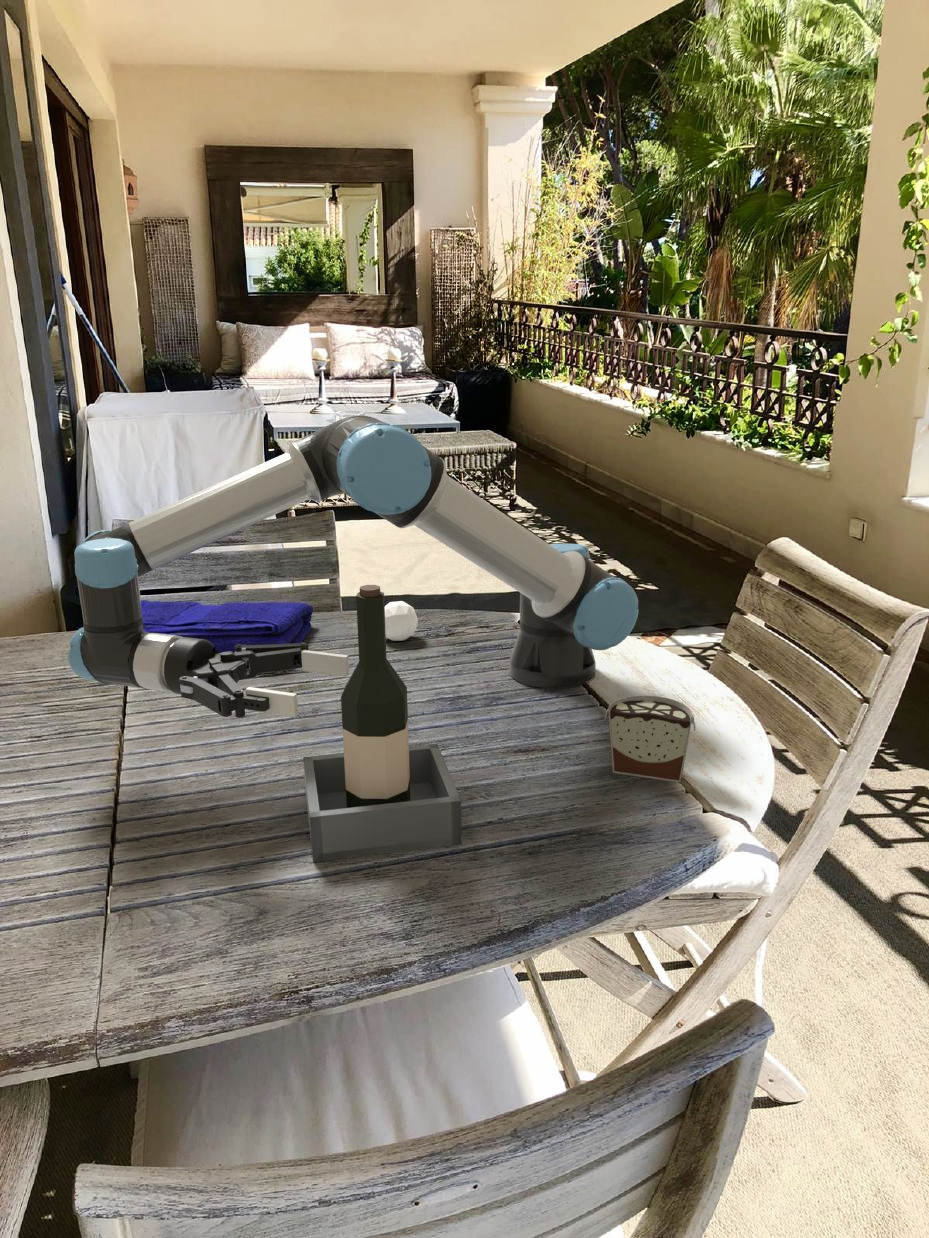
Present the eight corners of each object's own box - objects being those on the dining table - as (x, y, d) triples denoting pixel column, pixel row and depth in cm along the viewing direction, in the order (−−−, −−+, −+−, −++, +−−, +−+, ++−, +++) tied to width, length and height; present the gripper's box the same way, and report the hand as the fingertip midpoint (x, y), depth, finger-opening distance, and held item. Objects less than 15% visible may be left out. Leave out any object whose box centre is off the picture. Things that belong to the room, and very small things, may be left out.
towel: (146, 624, 202) (141, 583, 200) (316, 626, 200) (314, 584, 198) (93, 671, 177) (86, 624, 175) (287, 673, 175) (284, 626, 173)
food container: (696, 764, 139) (701, 699, 136) (691, 784, 134) (696, 716, 130) (610, 752, 143) (613, 689, 140) (602, 771, 138) (604, 705, 134)
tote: (438, 783, 134) (437, 743, 133) (461, 844, 120) (461, 800, 118) (305, 797, 131) (303, 757, 129) (313, 861, 116) (310, 817, 114)
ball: (391, 649, 193) (386, 611, 196) (427, 639, 190) (421, 600, 193) (372, 642, 186) (367, 603, 189) (409, 631, 184) (403, 591, 186)
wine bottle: (423, 804, 127) (417, 582, 117) (392, 835, 120) (383, 601, 110) (367, 791, 130) (357, 574, 121) (334, 821, 123) (320, 592, 114)
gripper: (233, 659, 141) (367, 677, 134) (119, 728, 119) (273, 754, 112) (229, 610, 139) (365, 625, 132) (112, 671, 116) (268, 693, 109)
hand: (323, 684), depth 122 cm, fingers open, 13 cm apart
